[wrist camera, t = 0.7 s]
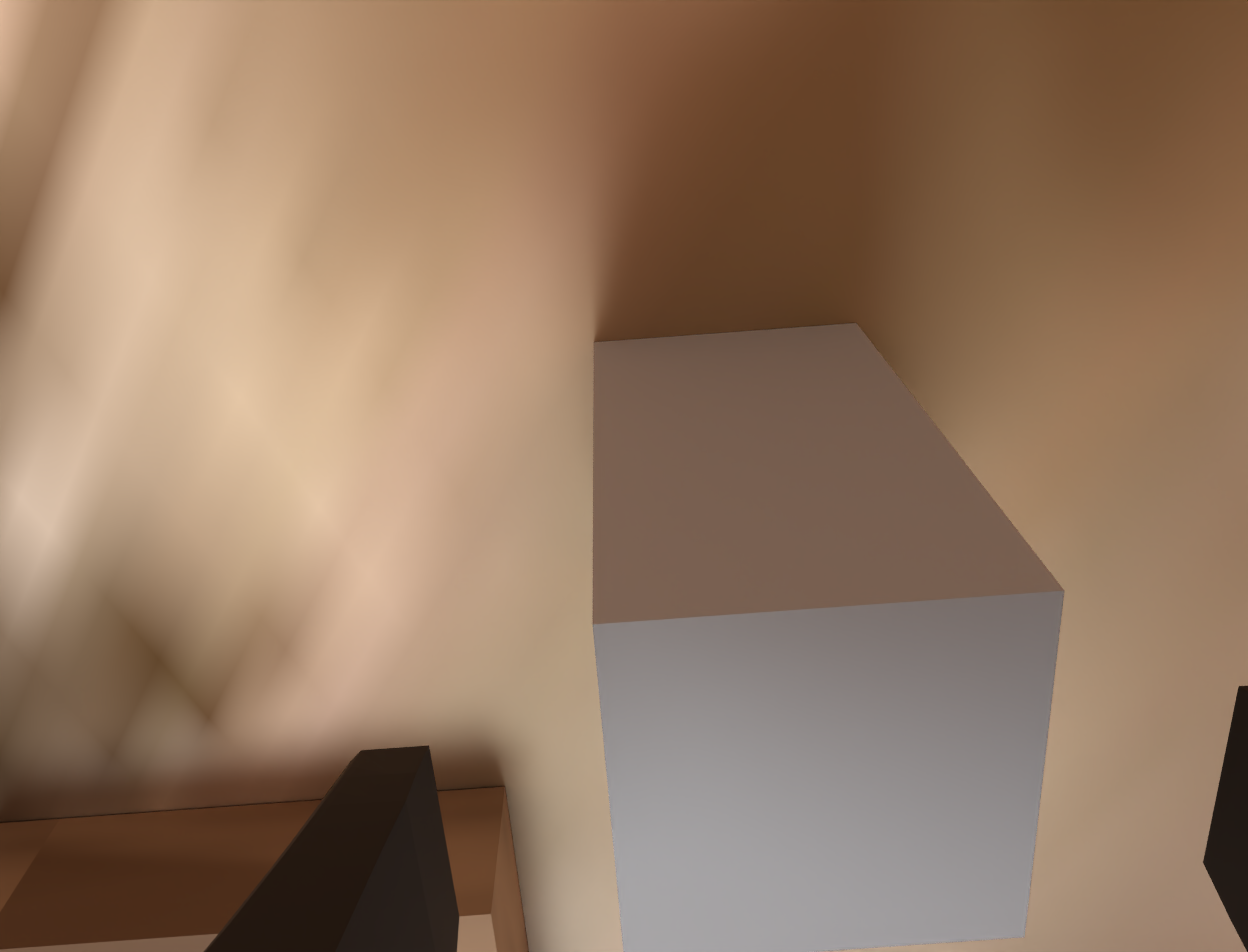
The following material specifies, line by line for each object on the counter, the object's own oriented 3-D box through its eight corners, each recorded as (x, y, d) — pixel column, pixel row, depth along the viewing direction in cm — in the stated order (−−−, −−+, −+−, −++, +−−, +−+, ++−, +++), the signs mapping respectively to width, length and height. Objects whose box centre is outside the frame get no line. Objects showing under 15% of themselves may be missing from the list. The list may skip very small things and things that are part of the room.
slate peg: (851, 554, 18) (1023, 936, 11) (613, 571, 18) (624, 965, 11) (856, 323, 16) (1064, 589, 9) (593, 341, 16) (593, 624, 9)
